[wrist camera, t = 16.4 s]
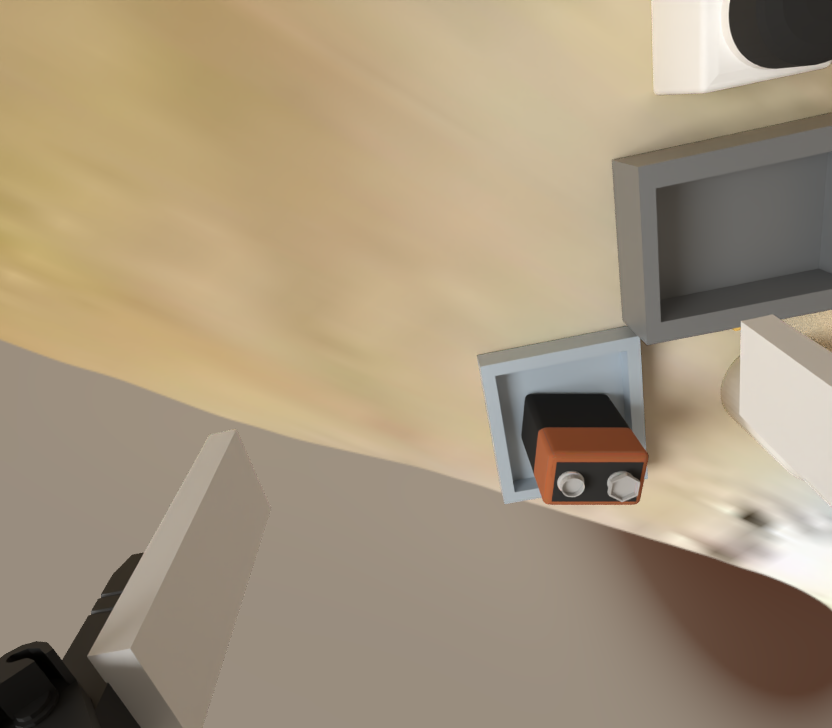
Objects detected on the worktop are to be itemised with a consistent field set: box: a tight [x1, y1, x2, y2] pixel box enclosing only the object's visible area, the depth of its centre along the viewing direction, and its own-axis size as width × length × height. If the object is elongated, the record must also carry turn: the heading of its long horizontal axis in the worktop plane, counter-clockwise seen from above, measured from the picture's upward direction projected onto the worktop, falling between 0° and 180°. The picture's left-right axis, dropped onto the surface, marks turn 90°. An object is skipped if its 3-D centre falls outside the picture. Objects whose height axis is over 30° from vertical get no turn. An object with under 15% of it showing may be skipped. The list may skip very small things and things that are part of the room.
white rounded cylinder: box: [721, 356, 805, 481], centre depth 44 cm, size 8×8×8 cm
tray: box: [477, 326, 648, 504], centre depth 47 cm, size 13×12×2 cm
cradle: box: [612, 113, 832, 345], centre depth 40 cm, size 12×15×5 cm
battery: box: [521, 394, 649, 505], centre depth 43 cm, size 4×7×10 cm, turn 89°
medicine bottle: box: [651, 0, 832, 95], centre depth 31 cm, size 7×7×12 cm
